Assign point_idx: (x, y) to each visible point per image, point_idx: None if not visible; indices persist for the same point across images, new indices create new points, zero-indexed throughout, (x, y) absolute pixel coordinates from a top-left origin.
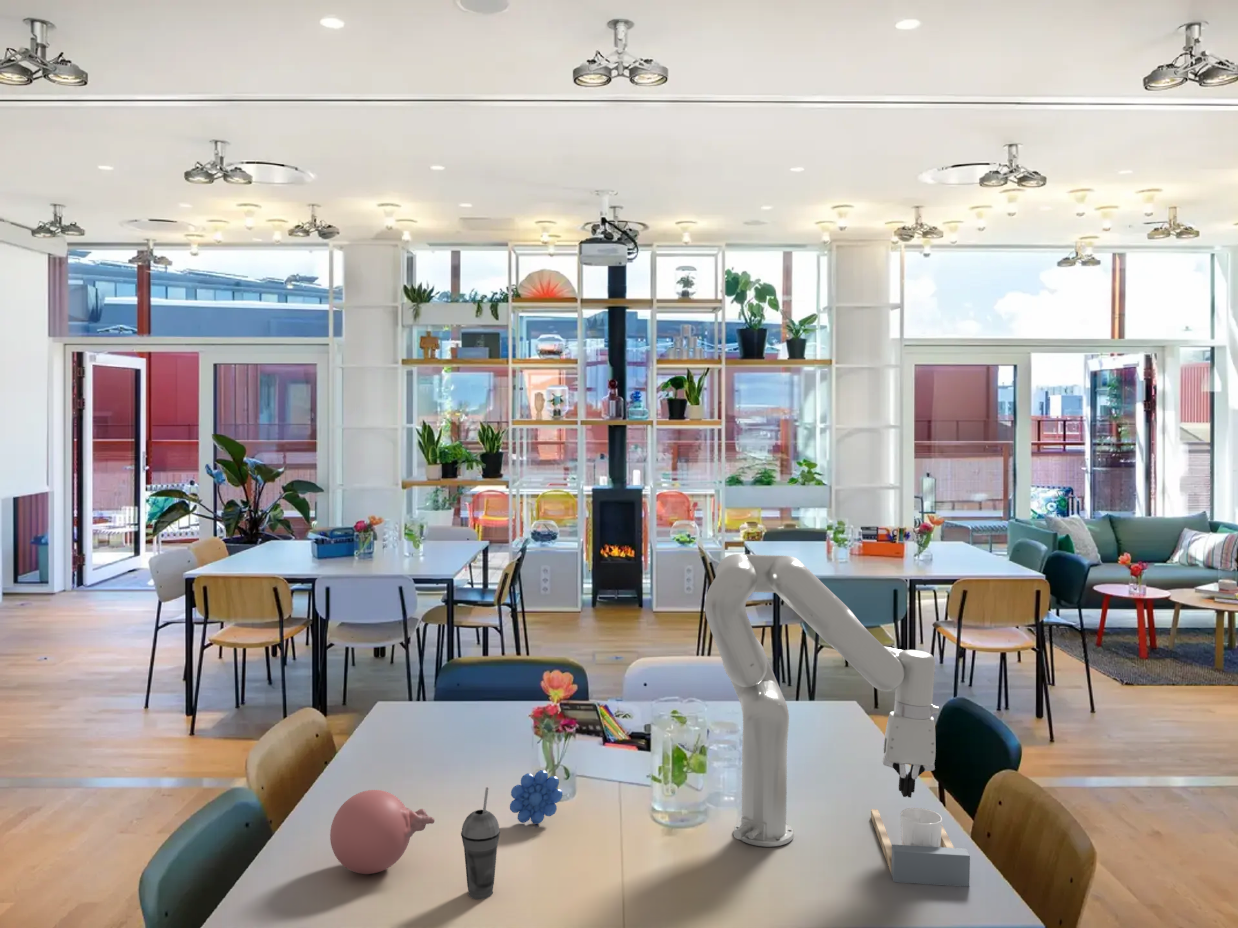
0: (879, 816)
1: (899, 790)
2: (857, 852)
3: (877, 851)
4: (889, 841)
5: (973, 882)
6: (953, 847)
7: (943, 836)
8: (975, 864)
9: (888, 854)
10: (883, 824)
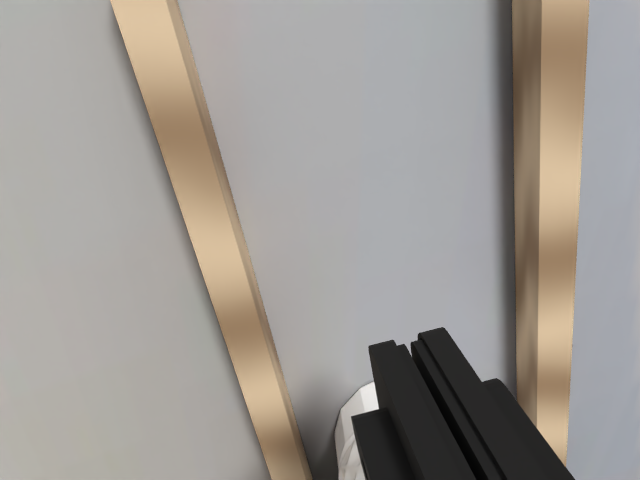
0: (180, 80)
1: (357, 446)
2: (143, 416)
3: (224, 381)
4: (275, 390)
5: None
6: (568, 350)
7: (550, 249)
8: (615, 352)
9: None
10: (224, 205)
